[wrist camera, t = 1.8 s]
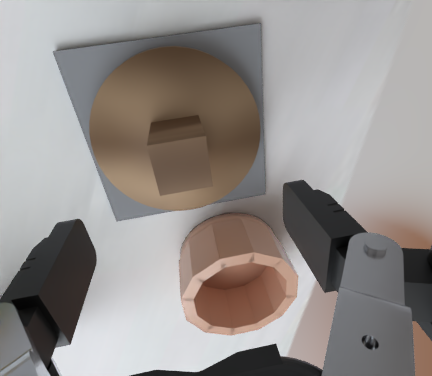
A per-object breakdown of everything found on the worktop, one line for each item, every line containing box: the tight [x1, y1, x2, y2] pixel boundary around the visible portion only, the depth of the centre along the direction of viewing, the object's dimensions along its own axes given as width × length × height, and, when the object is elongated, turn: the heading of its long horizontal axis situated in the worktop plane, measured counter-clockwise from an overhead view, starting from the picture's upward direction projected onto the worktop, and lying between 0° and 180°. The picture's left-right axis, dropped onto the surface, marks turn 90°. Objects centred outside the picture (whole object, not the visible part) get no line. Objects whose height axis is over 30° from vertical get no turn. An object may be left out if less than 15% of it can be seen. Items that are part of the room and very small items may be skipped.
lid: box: [89, 46, 261, 211], centre depth 17 cm, size 11×11×5 cm
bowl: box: [179, 213, 298, 335], centre depth 23 cm, size 9×9×5 cm
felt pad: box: [53, 23, 265, 221], centre depth 19 cm, size 12×12×1 cm
